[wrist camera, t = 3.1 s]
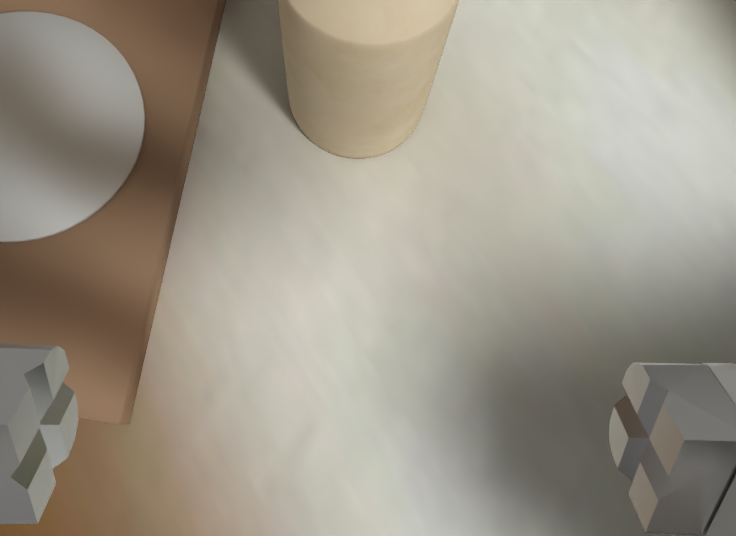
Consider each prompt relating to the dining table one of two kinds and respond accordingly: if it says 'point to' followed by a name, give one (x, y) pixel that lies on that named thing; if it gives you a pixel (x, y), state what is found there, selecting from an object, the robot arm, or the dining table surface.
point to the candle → (361, 68)
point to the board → (95, 176)
